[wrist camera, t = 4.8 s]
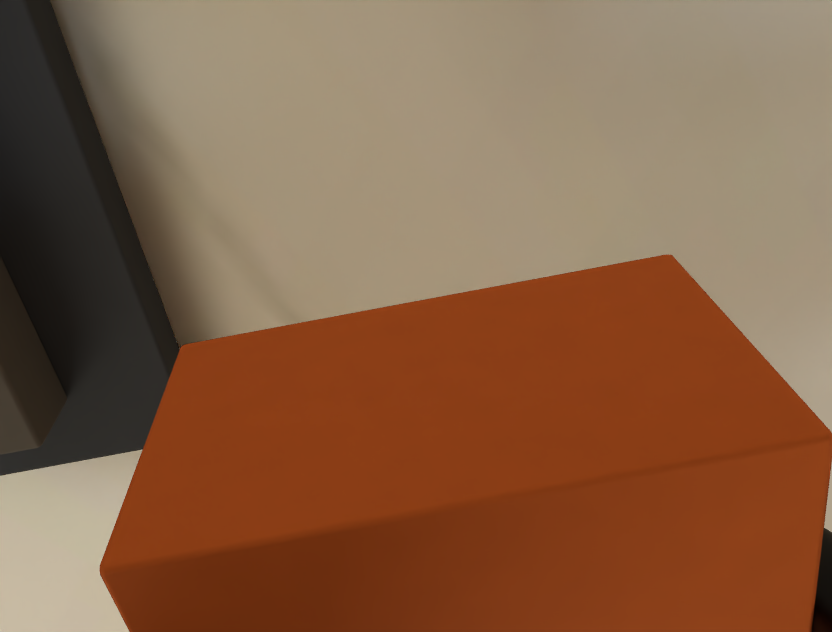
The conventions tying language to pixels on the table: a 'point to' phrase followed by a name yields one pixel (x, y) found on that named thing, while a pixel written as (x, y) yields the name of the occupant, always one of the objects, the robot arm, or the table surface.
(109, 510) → the table surface
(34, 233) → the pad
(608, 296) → the orange block
